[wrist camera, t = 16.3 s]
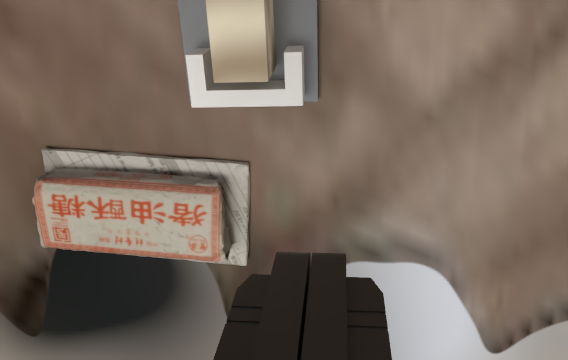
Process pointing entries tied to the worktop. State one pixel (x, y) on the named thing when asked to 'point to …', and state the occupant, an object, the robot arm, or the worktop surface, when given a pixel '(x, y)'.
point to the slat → (241, 40)
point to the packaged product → (144, 205)
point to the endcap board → (288, 52)
